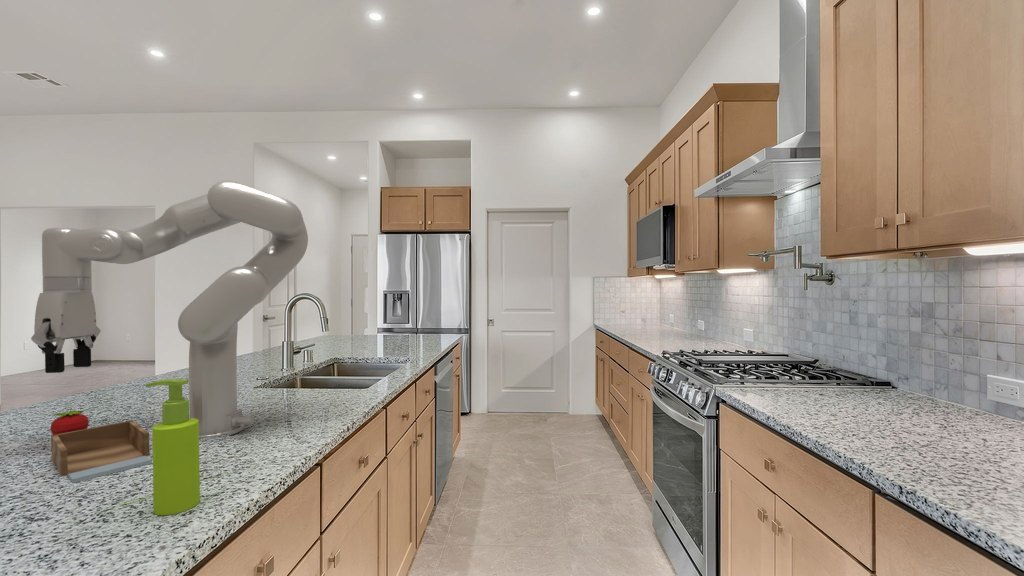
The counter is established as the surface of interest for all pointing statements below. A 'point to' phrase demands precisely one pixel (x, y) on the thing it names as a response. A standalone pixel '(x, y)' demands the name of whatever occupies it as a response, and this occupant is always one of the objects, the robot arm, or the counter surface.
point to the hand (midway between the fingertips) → (69, 368)
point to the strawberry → (69, 422)
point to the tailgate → (108, 469)
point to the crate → (98, 446)
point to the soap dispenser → (175, 454)
